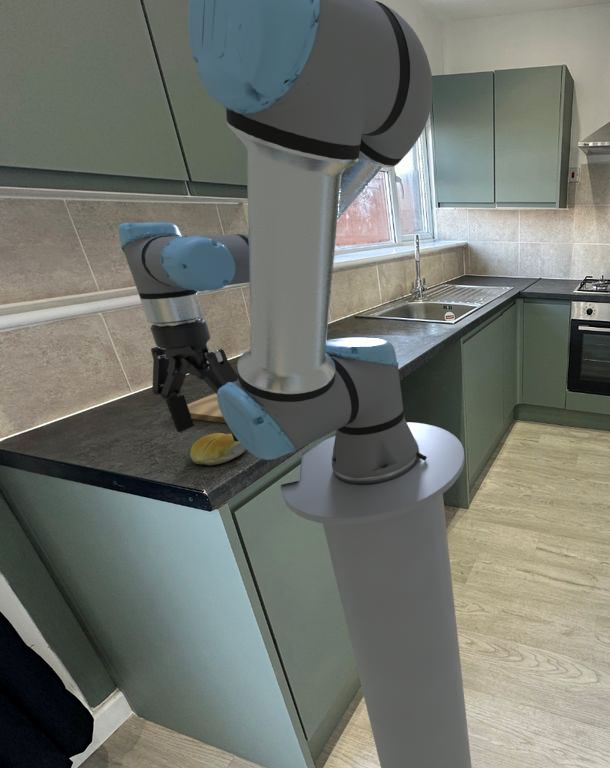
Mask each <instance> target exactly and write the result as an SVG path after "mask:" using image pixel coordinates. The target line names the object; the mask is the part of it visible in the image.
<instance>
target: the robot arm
mask: <svg viewBox="0 0 610 768" xmlns="http://www.w3.org/2000/svg"><path fill="white" fill-rule="evenodd" d="M188 5H189V6H188V16H187V17H188V20H187V22H188V23H187V25H188V39H189V46H190V52H191V57H192V59H193V60H194V61H195V63H197V69H196V72H197V75H198V78H199V79H200V82H201V84H202V85H203V87H204V89H205V90H206V92H207V93H208V94H209V96H211V98H212V99H213V100H214V101H215V102H217V103H218V104H219V105H221V106H222V107H223V108H225V112H226V113H225V114H226V125H227V128H228V129H230V130H231V132H232V133H233V134H234V135H235V136H236V138H237V139H239V141H240V142H241V143H242V144H243V147H244V148H245V150H246V183H247V189H246V190H247V221H248V222H247V229H248V233H235V234H207V235H206V234H205V235H198V234H197V235H182V233H181V231H180V229H179V227H178V226H177V225H176V224H175V223H173V222H169V221H168V222H163V221H161V222H160V221H159V222H122V223H120V224H119V225H118V227H117V232H118V233H117V234H118V237H119V241H120V244H121V245H120V248H121V251H122V252H123V254H124V257H125V259H126V261H127V264H128V268H129V270H130V274H131V276H132V279H133V282H134V285H135V288H136V290H137V293H138V295H139V299H140V303H141V306H142V308H143V311H144V314H145V318H146V321H147V322H148V323H150V324H152V325H151V326H150V328H149V329H150V331H151V334H152V338H153V340H154V343H155V345H156V346H154V347H152V348H150V352H151V356H152V360H153V362H152V363H153V364H152V368H153V369H152V388H151V389H152V394H153V395H155V396H160V397H161V398H162V399H163V400H165V403H166V405H167V408H168V411H169V412H170V415H171V418H172V422H173V424H174V426H175V429H176V432H177V433H182V432H184V431H186V430H188V429H191V428H192V427H195V424H194V421H193V419H192V418H191V415H190V412H189V409H188V406H187V404H188V403H187V399H186V397H185V395H184V394H182V393H183V392H184V391H182V388H183V385H184V382H185V379H186V377H187V375H191V376H195V377H196V378H198V379H199V380H203V381H204V382H205V383H206V385H208V387H209V388H210V389H211V390H212V391H213V392H214V393H216V394H217V401H218V405H219V408H220V411H221V413H222V415H223V418H224V419H225V421H226V423H225V424H226V425H227V427H228V428H229V430H230V432H231V434H232V436H233V439H234V441H239V442H240V443H241V444H242V445H243V446H244V447H245V448H246V450H247V451H248V452H249V453H250V454H251V455H253V456H254V457H256V458H258V459H261V460H265V461H269V460H270V461H271V460H277V459H279V458H281V457H283V456H286V455H288V454H293V453H295V452H296V451H297V450H299V449H302V448H303V447H306V446H307V445H309V444H311V443H313V442H316V441H317V440H320V439H322V438H323V437H326V436H327V435H330V434H332V433H334V432H335V435H334V436H335V442H334V448H333V455H332V469H333V473H334V475H335V477H336V478H337V479H338V480H340V481H342V482H344V483H348V484H352V485H372V484H379V483H383V482H387V481H390V480H393V479H395V478H398V477H400V476H402V475H404V474H405V473H407V472H408V471H410V470H411V469H412V468H413V467H414V466H415V465H416V464H417V462H418V460H419V458H420V459H422V460H424V461H425V460H426V458H427V457H426V456H424V455H422V454H421V453H419V446H418V444H417V441H416V440H415V438H414V436H413V434H412V432H411V430H410V428H409V426H408V424H407V419H406V417H405V411H404V403H403V395H402V388H401V379H400V372H399V370H400V369H399V362H398V360H397V355H396V349H395V347H394V345H393V344H392V343H391V342H389V341H388V340H386V339H381V338H374V337H341V338H334V339H333V338H332V339H328V329H329V328H328V327H329V319H330V318H329V315H330V308H331V307H330V305H331V295H332V285H333V284H332V283H333V274H334V273H333V271H334V263H335V251H336V240H337V229H338V228H337V227H338V220H339V219H340V218H341V216H343V214H344V213H345V212H346V211H347V210H348V208H349V207H350V206H351V205H352V204H353V203H354V201H356V199H357V198H359V196H360V195H361V194H362V193H363V191H364V190H365V189H366V188H367V187H368V186H369V184H370V183H371V182H372V181H373V180H374V179H375V178H376V177H377V175H378V174H379V173H380V172H381V171H382V169H383V168H384V167H386V168H393V167H395V166H397V165H398V164H399V163H400V162H401V161H402V160H403V159H404V158H405V157H406V156H407V155H408V154H409V152H411V150H412V149H413V147H414V146H415V144H416V143H417V141H418V140H419V139H420V137H421V136H422V133H423V131H424V129H425V127H426V125H427V124H428V123H427V122H428V121H429V118H430V114H431V109H432V104H433V103H432V102H433V96H434V95H433V93H434V89H433V87H434V86H433V74H432V70H431V66H430V62H429V58H428V55H427V53H426V51H425V48H424V46H423V43H422V42H421V40H420V38H419V36H418V35H417V33H416V31H415V30H414V29H413V28H412V26H411V25H410V24H409V23H408V22H407V21H406V20H405V19H404V18H403V17H402V16H401V15H400V14H399V13H398V12H397V11H395V10H394V9H393V8H391V7H389V6H388V5H386V4H384V3H383V2H380V1H377V0H189V4H188ZM241 284H249V316H250V317H249V322H250V324H249V325H250V326H249V327H250V330H249V331H250V348H249V349H247V350H246V351H244V352H243V353H242V354H241V355H240V356H239V358H238V360H237V362H236V363H237V364H236V365H237V366H236V368H237V373H236V370H234V368H233V366H232V365H231V363H230V362H229V360H228V357H227V354H226V352H225V350H224V349H222V348H219V349H215V350H210V349H209V348H208V346H207V343H208V342H209V341H210V340H211V334H210V331H209V326H208V324H207V321H206V320H205V319H204V318H202V317H203V316H204V311H203V308H202V305H201V301H200V297H199V295H198V292H201V293H202V292H206V291H207V292H210V291H211V292H212V291H213V292H214V291H218V290H220V289H223V288H224V287H226V286H233V285H234V286H235V285H241ZM327 339H328V340H327Z"/></svg>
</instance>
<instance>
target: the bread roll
mask: <svg viewBox="0 0 610 768" xmlns="http://www.w3.org/2000/svg"><path fill="white" fill-rule="evenodd" d="M246 450H247V449H246V448H245V447H244V446H243V445H242V444H241V443H240V442H239V441H234V439H233V436H232V433H221V432H214V433H210V434H207V435H204V436H202V437H200V438H199V439H197V440H195V442H194V443H193V444H192V445H191V448H190V451H189V456H190V459H191V461H192V462H193V463H194V464H197V465H206V466H215V465H221V464H225V463H227V462H230V461H232V460H234V459H235V458H238V457H240V456H241V455H242V454H243V453H244V452H245V451H246Z"/></svg>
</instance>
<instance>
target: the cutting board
mask: <svg viewBox="0 0 610 768" xmlns="http://www.w3.org/2000/svg"><path fill="white" fill-rule="evenodd" d="M187 406H188V409H189V412H190V415H191V418H192V420H197V421H206V422H212V423H213V422H214V423H219V424H221V423H222V424H227V423H226V421H225V419H224V418H223V415H222V413H221V411H220V408H219V405H218V401H217V394H216V393H215V392H214V393H212V394H210V395H206V396H204V397H203V398H199V399H197V400H195V401H193V402H190V403H187Z"/></svg>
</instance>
